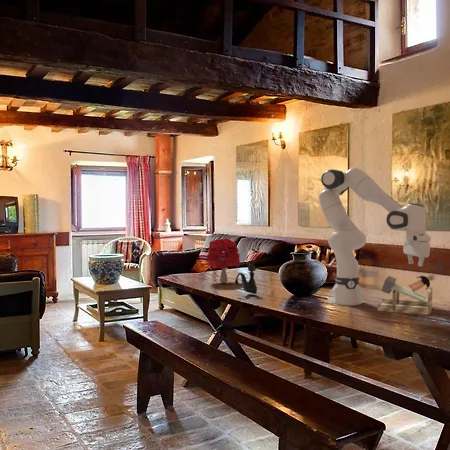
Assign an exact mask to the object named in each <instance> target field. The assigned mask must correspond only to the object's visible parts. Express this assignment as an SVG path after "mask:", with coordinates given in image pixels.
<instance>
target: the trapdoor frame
mask: <svg viewBox="0 0 450 450" xmlns="http://www.w3.org/2000/svg"><path fill="white" fill-rule="evenodd" d="M427 290H428V291H427V300H425V301H424V302H421V301H419V300H410V299H400V293H399V292H396V290H392V298H381V304H377V312H378V311H379V312H387V313H402V314H414V315H423V316H425V315H426V316H427V315H428V316H431V314H432V311H433V285H430V287H429V288H428V289H427Z"/></svg>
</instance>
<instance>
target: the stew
mask: <svg viewBox="0 0 450 450" xmlns="http://www.w3.org/2000/svg"><path fill="white" fill-rule="evenodd" d="M335 261H336V257H333V259H332V260H331V261H330V263H326V262H325V263H323V264H324V265H325V266H326V268H327V272H328V276H327V280H326V282H325V283H333V284H334V285H335V284H336V283H335V282H336V277H335V276H336V275H337V263H336V264H335Z"/></svg>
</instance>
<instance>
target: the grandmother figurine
mask: <svg viewBox="0 0 450 450" xmlns="http://www.w3.org/2000/svg"><path fill="white" fill-rule="evenodd" d="M416 279H418V280H416V281H414V282H412V283H411V284H408V287H409V289H411V290H412V291H413V292H415V291H416V292H417V291H418V290H420V289H422V288H423V287H424V286H425V285H426V287H425V290H426V291H427V290H429V287H430V286H431V281H434V280H436V275H435V274H433V273H430V274H428V275H427V276H425V275H418V276H416Z"/></svg>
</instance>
